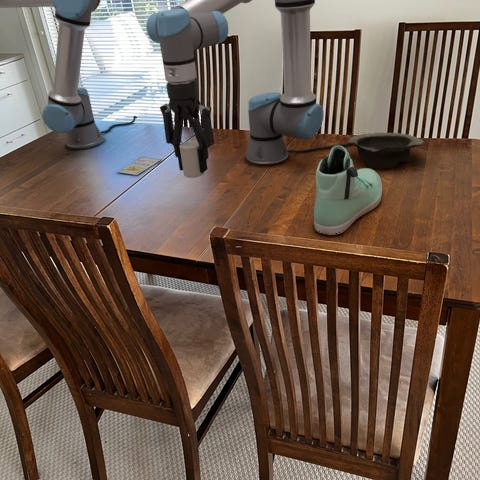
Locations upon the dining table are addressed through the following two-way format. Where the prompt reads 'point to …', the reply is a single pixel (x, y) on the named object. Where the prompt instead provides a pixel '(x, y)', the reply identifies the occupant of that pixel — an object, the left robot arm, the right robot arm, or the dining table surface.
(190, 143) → the canister
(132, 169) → the baking ingredient package
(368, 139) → the stone bowl
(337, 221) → the sneaker
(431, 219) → the dining table surface
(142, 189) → the dining table surface
